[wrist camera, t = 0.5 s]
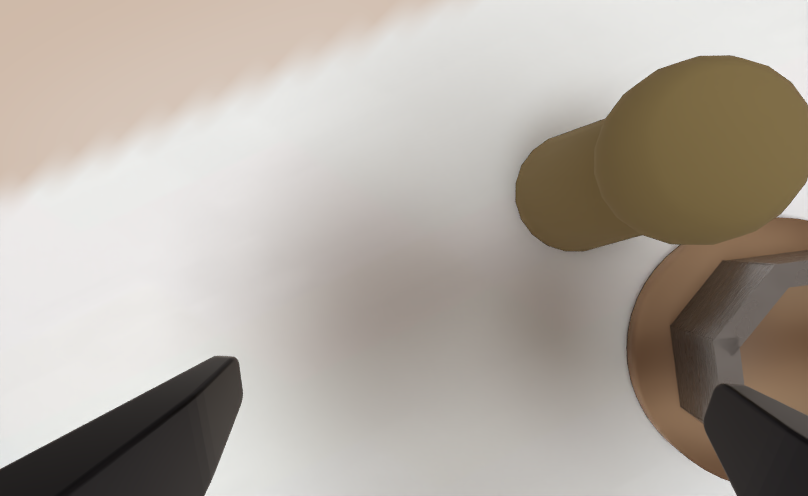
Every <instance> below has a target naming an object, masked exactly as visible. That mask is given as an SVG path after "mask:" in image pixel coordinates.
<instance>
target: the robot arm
mask: <svg viewBox="0 0 808 496" xmlns="http://www.w3.org/2000/svg"><path fill="white" fill-rule="evenodd" d="M242 398H243V389H242V381H241V374H240V367H239V362H238V360H237V359H236V358H235V357H231V356H214V357H212V358H210V359H208V360H206V361H204V362H202V363H200V364H198V365H196V366H195V367H193V368H191V369H189V370H187V371H185V372H183V373H181V374H179V375H177V376H176V377H174V378H172V379H170V380H168V381H166V382H164V383H162V384H160V385H159V386H157V387H155V388H153V389H151V390H149V391H147V392H145V393H143V394H141V395H140V396H138V397H136V398H134V399H132V400H130V401H128V402H126V403H124V404H123V405H121V406H119V407H117V408H115V409H113V410H111V411H109V412H107V413H105V414H104V415H102V416H100V417H98V418H96V419H94V420H92V421H90V422H88V423H87V424H85V425H83V426H81V427H79V428H77V429H75V430H73V431H71V432H69V433H68V434H66V435H64V436H62V437H60V438H58V439H56V440H54V441H52V442H50V443H49V444H47V445H45V446H43V447H41V448H39V449H37V450H35V451H33V452H32V453H30V454H28V455H26V456H24V457H22V458H20V459H18V460H16V461H14V462H13V463H11V464H9V465H7V466H5V467H3V468H1V469H0V496H204V495H205V493H206V491H207V489H208V487H209V485H210V483H211V480H212V478H213V476H214V473H215V471H216V468H217V466H218V463H219V461H220V458H221V455H222V453H223V450H224V448H225V445H226V442H227V440H228V437H229V434H230V432H231V429H232V427H233V424H234V421H235V419H236V416H237V414H238V411H239V408H240V406H241V403H242ZM703 424H704V429H705V432H706V434H707V436H708V439H709V441H710V443H711V445H712V447H713V449H714V451H715V453H716V455H717V457H718V459H719V461H720V463H721V465H722V467H723V469H724V471H725V473H726V475H727V477H728V479H729V481H730V483H731V485H732V487H733V489H734V491H735V493H736V495H737V496H808V415H806V414H804V413H802V412H800V411H797V410H795V409H793V408H791V407H789V406H787V405H785V404H783V403H781V402H779V401H777V400H775V399H773V398H771V397H769V396H767V395H765V394H763V393H760V392H758V391H756V390H754V389H752V388H750V387H748V386H746V385H742V384H727V383H721V384H718V385H717V386H716V387H715V388H714V390H713V392H712V395H711V398H710V401H709V404H708V407H707V409H706V412H705V415H704V420H703Z"/></svg>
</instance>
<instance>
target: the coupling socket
mask: <svg viewBox="0 0 808 496" xmlns="http://www.w3.org/2000/svg"><path fill="white" fill-rule="evenodd" d="M627 359H628V368H629V373H630V378H631V382H632V385H633V388H634V391H635V394H636V397H637V399H638V401H639V403H640V405H641V407H642V409H643V411H644V412H645V414H646V415H647V417H648V418H649V420H650V421H651V423H652V424H653V426H654V427H655V428H656V429H657V430H658V431H659V433H660V434H661V435H662V436H663V437H664V438H665V439H666V440H667V441H668V442H669V443H670V444H672V445H673V446H674V447H675V448H676V449H677V450H679V451H680V452H681V453H682V454H683V455H685V456H686V457H687V458H688V459H690V460H691V461H692V462H694V463H695V464H697V465H698V466H700V467H701V468H703V469H704V470H706V471H708V472H710V473H712V474H714V475H716V476H718V477H720V478H723V479H725V480H728V481H729V479H728V477H727V475H726V473H725V471H724V469H723V467H722V465H721V463H720V461H719V459H718V457H717V455H716V453H715V451H714V449H713V447H712V445H711V443H710V441H709V439H708V436H707V434H706V432H705V429H704V424H703V420H704V415H705V412H706V409H707V407H708V404H709V401H710V398H711V395H712V392H713V390H714V388H715V387H716V386H717V385H718V384H721V383H727V384H742V385H746V386H748V387H750V388H752V389H754V390H756V391H758V392H760V393H763V394H765V395H767V396H769V397H771V398H773V399H775V400H777V401H779V402H781V403H783V404H785V405H787V406H789V407H791V408H793V409H795V410H797V411H800V412H802V413H804V414H806V415H808V221H807V220H801V219H793V218H774V219H773V220H771V221H770V222H768V223H767V224H766V225H764V226H763V227H761V228H760V229H758V230H757V231H755V232H752V233H749V234H746V235H743V236H740V237H737V238H734V239H731V240H727V241H724V242H721V243H718V244H715V245H680V246H679V247H677V248H676V249H675V250H674V251H673V252H672V253H670V254H669V255H668V256H667V257H666V258H665V259H664V260H663V261H662V262H661V263H660V264H659V266H658V267H657V268H656V269H655V270H654V271H653V273H652V274H651V276H650V277H649V279H648V280H647V281H646V283H645V285H644V287H643V288H642V290H641V292H640V294H639V296H638V298H637V301H636V304H635V306H634V309H633V312H632V315H631V320H630V324H629V329H628V339H627Z"/></svg>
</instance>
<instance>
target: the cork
mask: <svg viewBox="0 0 808 496" xmlns="http://www.w3.org/2000/svg"><path fill="white" fill-rule="evenodd" d="M807 178H808V105H807V103H806V102H805V100H804V99H803V97H802V96H801V95H800V93H799V92H798V91H797V89H796V88H795V87H794V85H793V84H792V83H791V82H790V81H789V80H787V79H786V78H785V77H783V76H782V75H780V74H779V73H777V72H776V71H775V70H773V69H772V68H770V67H769V66H766V65H763V64H759V63H756V62H753V61H750V60H746V59H743V58H739V57H735V56H730V55H729V56H698V57H695V58H691V59H688V60H685V61H682V62H679V63H676V64H673V65H670V66H667V67H664V68H661V69H658V70H656V71H655V72H653V73H652V74H651V75H649V76H648V77H647V78H645V79H644V80H642V81H641V82H640V83H638V84H637V85H635V86H634V87H633V88H631V89H630V90H629V91H627V92H626V93H625V94H624V95H623V96H622V97H621V99H620V100H619V101H618V103H617V104H616V105H615V107H614V108H613V109H612V111H611V112H610V113H609V115H608V116H607V117H606V119H603V120H600V121H598V122H595V123H592V124H589V125H586V126H584V127H581V128H578V129H575V130H573V131H570V132H567V133H564V134H561V135H559V136H556V137H553V138H550V139H548V140H546V141H545V142H544V143H542V144H541V145H540V146H538V147H537V148H535V149H534V150H533V151H532V152H531V153H530V155H529V156H528V158H527V159H526V160H525V162H524V163H523V164H522V166H521V169H520V172H519V175H518V178H517V181H516V205H517V208H518V211H519V214H520V217H521V220H522V221H523V223H524V224H525V225H526V227H527V228H528V229H529V231H530V232H531V234H532V235H534V236H535V237H536V238H538V239H539V240H540V241H542V242H543V243H545V244H546V245H548V246H551V247H554V248H557V249H560V250H563V251H587V250H590V249H594V248H597V247H601V246H605V245H608V244H612V243H615V242H619V241H623V240H626V239H630V238H633V237H637V236H640V235H644V236H647V237H650V238H653V239H656V240H660V241H663V242H666V243H669V244H679V245H715V244H718V243H721V242H724V241H727V240H731V239H734V238H737V237H740V236H743V235H746V234H749V233H752V232H755V231H757V230H758V229H760V228H761V227H763V226H764V225H766V224H767V223H768V222H770V221H771V220H773V219H774V218H776V217H777V216H779V215H780V214H781V213H782V212H783V211H784V210H785V209H786V208H787V206H788V205H789V204H790V203H791V201H792V200H793V199H794V198H795V196H796V195H797V194H798V192H799V191H800V190H801V189H802V187H803V186H804V185H805V183H806V181H807Z"/></svg>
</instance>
